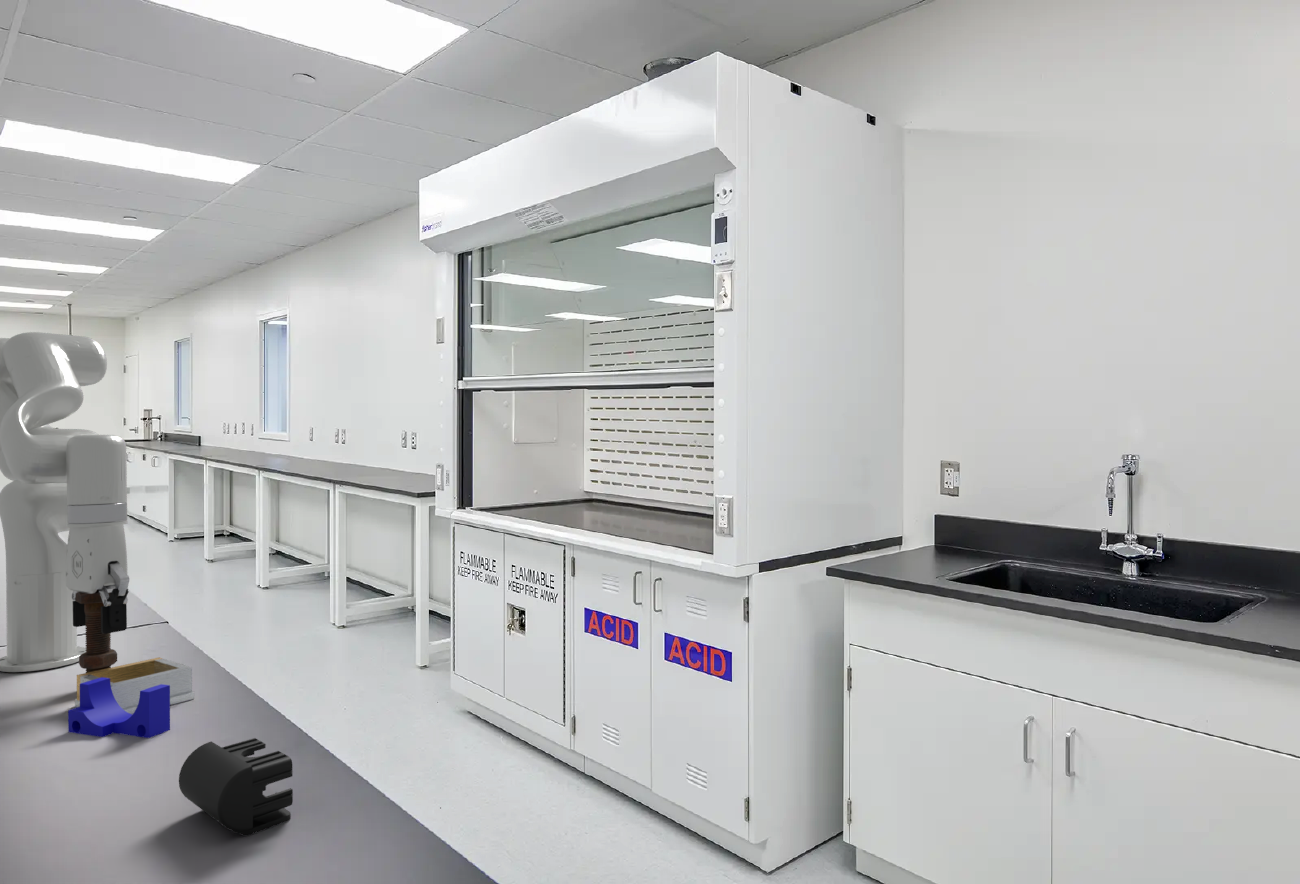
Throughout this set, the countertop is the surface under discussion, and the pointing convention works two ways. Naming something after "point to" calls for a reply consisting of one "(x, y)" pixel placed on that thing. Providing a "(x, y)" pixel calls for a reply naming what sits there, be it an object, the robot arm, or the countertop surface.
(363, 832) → the countertop surface
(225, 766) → the end cap
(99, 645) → the bolt
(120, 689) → the shallow open tray
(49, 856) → the countertop surface
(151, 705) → the cable clip
